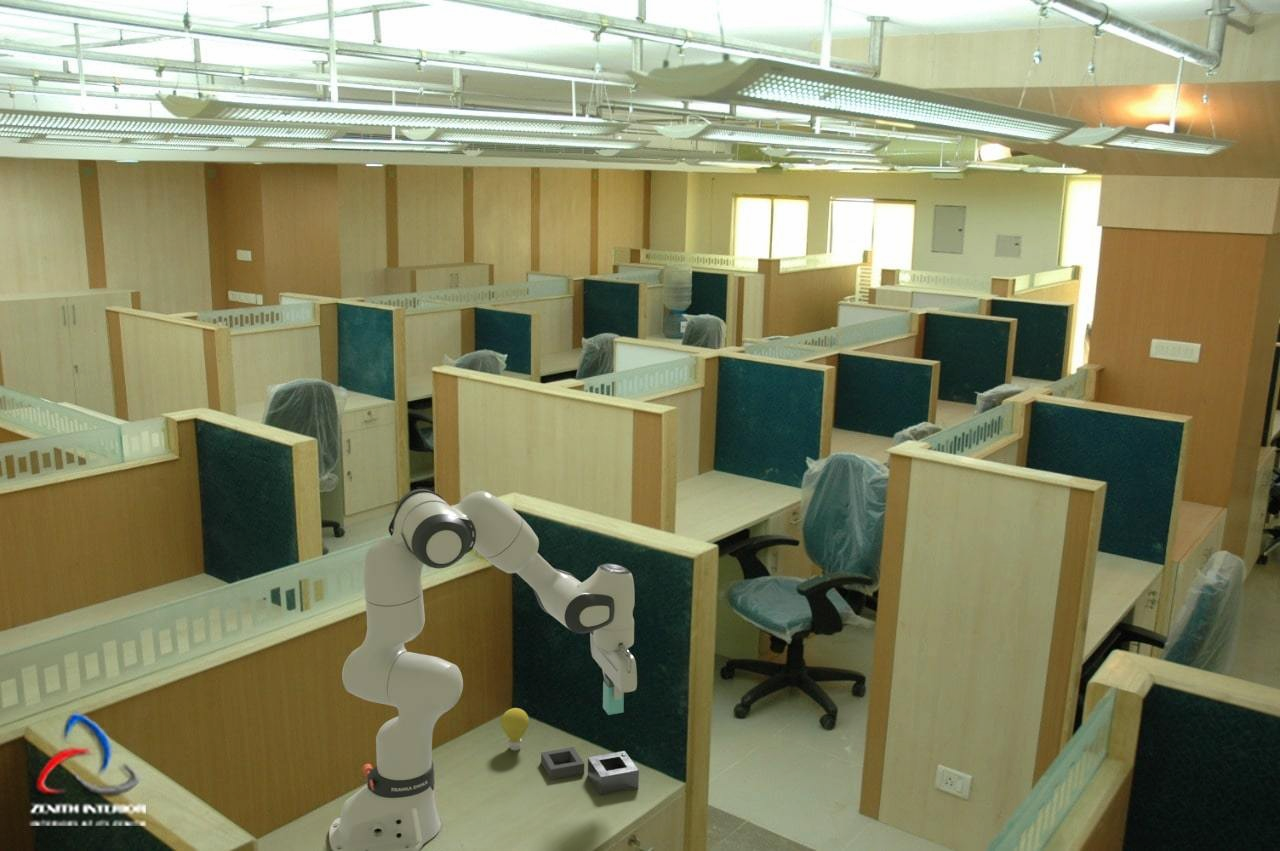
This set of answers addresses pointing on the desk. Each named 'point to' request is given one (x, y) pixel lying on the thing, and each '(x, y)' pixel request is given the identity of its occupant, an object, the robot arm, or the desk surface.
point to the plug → (611, 698)
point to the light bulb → (515, 726)
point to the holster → (562, 769)
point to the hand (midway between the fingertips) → (613, 693)
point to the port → (613, 773)
